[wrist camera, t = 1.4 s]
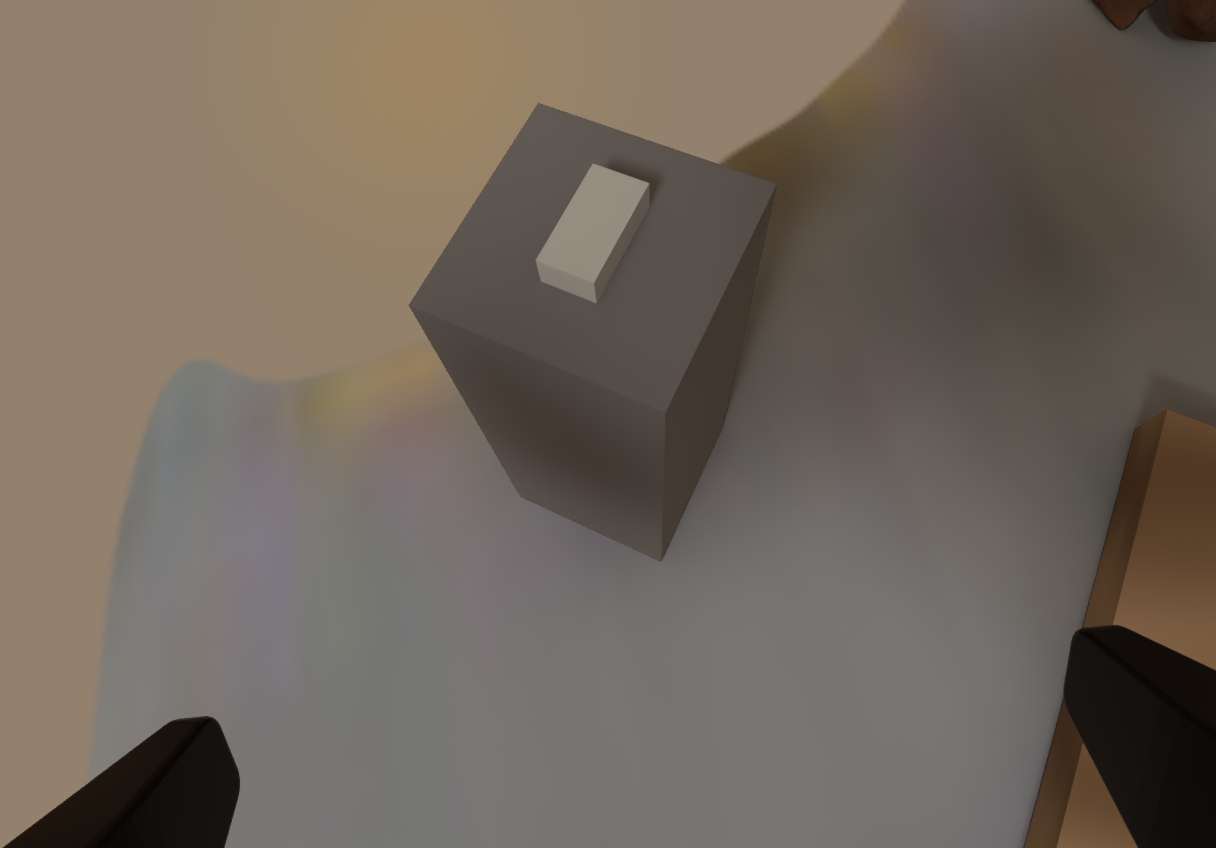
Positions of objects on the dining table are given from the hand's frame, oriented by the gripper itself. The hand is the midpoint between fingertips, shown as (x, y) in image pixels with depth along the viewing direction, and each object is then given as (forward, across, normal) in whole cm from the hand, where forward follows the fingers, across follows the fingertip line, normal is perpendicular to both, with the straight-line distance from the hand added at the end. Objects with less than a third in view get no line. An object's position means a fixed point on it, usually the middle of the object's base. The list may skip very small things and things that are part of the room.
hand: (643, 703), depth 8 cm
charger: (+14, 0, +4) cm, 15 cm away
